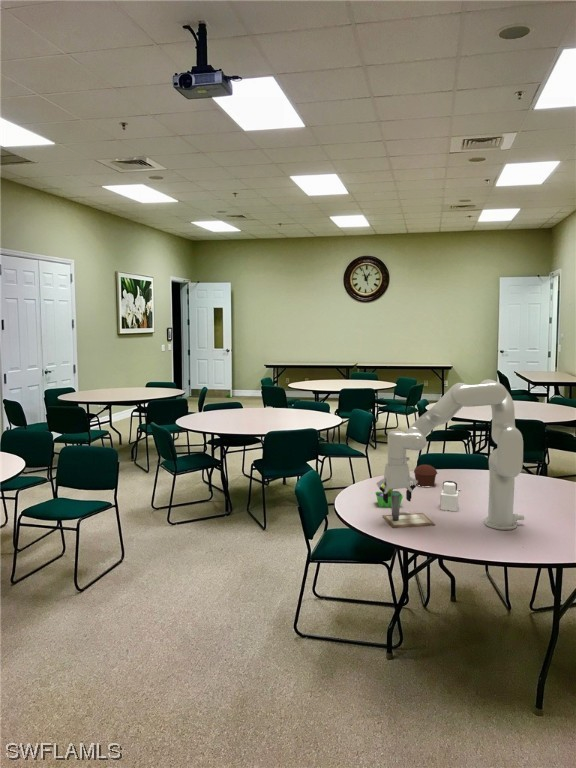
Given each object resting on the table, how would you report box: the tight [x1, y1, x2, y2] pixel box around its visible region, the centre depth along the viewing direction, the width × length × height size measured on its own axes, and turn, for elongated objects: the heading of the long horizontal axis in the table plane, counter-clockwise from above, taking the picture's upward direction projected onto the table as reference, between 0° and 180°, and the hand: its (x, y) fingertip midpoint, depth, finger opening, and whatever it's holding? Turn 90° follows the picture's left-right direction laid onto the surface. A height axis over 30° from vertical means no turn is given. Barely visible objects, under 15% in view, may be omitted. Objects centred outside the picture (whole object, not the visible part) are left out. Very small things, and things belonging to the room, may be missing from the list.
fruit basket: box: [375, 483, 404, 508], centre depth 255 cm, size 11×9×11 cm
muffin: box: [413, 464, 438, 487], centre depth 285 cm, size 12×11×10 cm
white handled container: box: [440, 480, 459, 512], centre depth 250 cm, size 7×7×12 cm
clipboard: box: [382, 511, 436, 529], centre depth 235 cm, size 18×13×2 cm
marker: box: [391, 490, 401, 521], centre depth 234 cm, size 3×3×12 cm
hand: (397, 501), depth 233 cm, fingers open, 9 cm apart
